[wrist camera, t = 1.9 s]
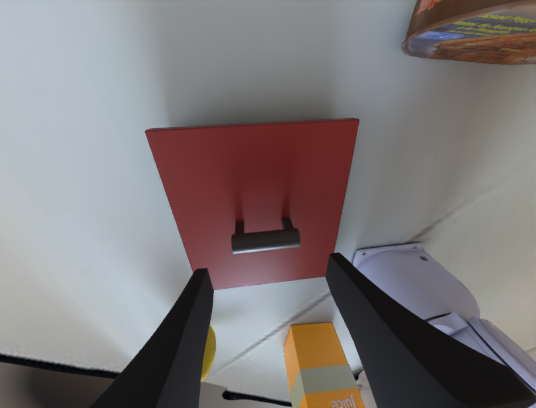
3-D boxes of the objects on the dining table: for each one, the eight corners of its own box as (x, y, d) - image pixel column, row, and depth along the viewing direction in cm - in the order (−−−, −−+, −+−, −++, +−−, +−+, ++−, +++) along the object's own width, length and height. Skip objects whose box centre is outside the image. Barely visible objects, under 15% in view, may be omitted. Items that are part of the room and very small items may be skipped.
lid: (149, 128, 12) (115, 141, 9) (354, 117, 13) (390, 125, 10) (200, 285, 20) (192, 323, 17) (327, 270, 21) (342, 302, 18)
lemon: (174, 311, 27) (151, 387, 20) (214, 305, 27) (204, 377, 20) (186, 332, 30) (169, 404, 23) (222, 326, 30) (216, 395, 23)
